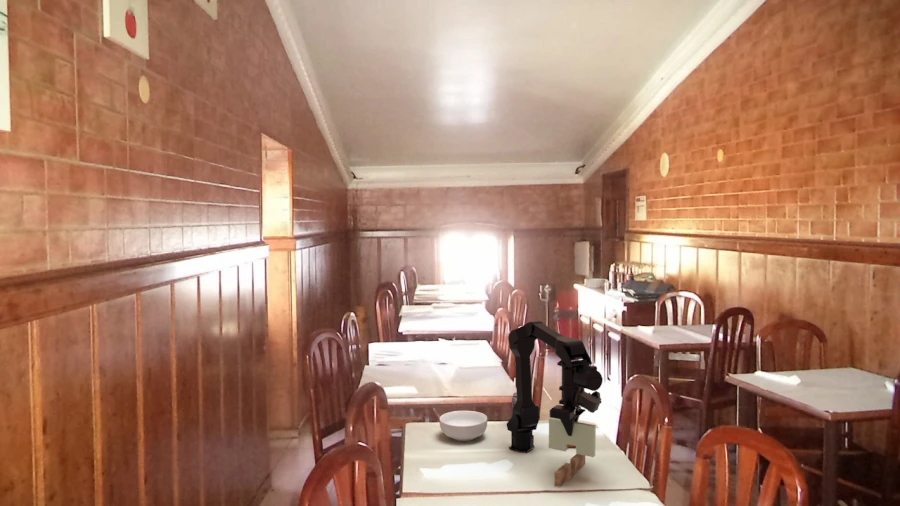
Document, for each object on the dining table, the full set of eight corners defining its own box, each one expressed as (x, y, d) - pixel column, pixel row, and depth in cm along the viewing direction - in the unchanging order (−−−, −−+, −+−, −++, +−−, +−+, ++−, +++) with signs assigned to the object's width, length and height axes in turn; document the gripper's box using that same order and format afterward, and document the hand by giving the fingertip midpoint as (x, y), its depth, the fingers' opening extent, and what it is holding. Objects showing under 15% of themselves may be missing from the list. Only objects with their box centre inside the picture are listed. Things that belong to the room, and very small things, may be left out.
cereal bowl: (443, 428, 237) (443, 409, 236) (489, 430, 235) (489, 411, 234) (435, 444, 220) (435, 424, 220) (485, 447, 218) (485, 426, 217)
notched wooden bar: (559, 486, 186) (559, 473, 185) (554, 485, 186) (554, 472, 186) (585, 464, 202) (585, 451, 202) (580, 463, 203) (580, 450, 203)
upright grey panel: (548, 448, 197) (548, 418, 197) (550, 446, 198) (551, 417, 198) (593, 457, 190) (593, 426, 189) (595, 455, 191) (595, 425, 190)
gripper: (586, 394, 181) (585, 449, 182) (608, 379, 196) (607, 430, 197) (548, 388, 187) (548, 442, 188) (573, 375, 202) (573, 424, 203)
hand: (571, 434), depth 194 cm, fingers closed on upright grey panel, 2 cm apart
